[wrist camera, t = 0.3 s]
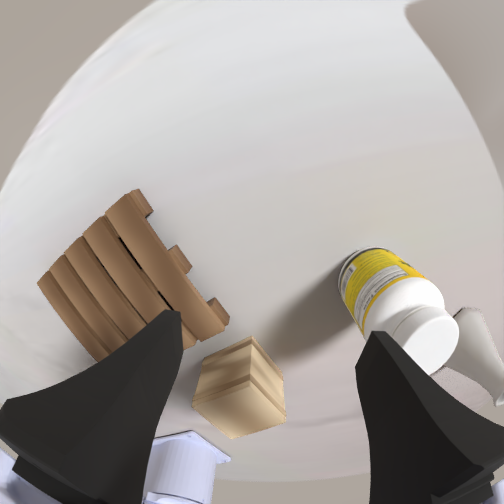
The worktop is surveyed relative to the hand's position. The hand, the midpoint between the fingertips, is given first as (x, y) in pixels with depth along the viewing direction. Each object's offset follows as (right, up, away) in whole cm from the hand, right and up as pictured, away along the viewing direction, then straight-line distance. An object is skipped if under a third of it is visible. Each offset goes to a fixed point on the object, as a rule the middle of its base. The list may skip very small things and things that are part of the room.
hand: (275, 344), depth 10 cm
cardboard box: (-2, -7, +14) cm, 15 cm away
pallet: (-12, 0, +12) cm, 17 cm away
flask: (+21, -5, +13) cm, 25 cm away
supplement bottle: (+8, +2, +11) cm, 14 cm away
